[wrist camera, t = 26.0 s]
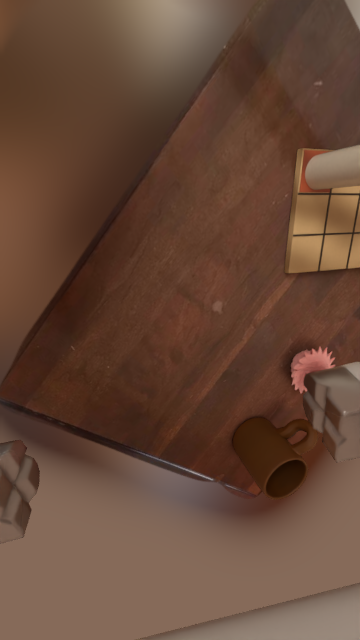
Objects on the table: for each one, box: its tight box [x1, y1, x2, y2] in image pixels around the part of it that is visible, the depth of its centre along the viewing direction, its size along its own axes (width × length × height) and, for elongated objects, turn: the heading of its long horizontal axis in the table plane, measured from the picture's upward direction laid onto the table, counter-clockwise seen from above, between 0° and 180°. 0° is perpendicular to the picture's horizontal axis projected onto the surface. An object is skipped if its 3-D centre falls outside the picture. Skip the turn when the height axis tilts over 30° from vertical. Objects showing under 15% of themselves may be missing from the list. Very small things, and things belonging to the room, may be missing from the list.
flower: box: [291, 347, 335, 393], centre depth 45 cm, size 8×8×6 cm
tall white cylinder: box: [305, 144, 360, 190], centre depth 31 cm, size 4×4×12 cm
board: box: [284, 148, 360, 274], centre depth 40 cm, size 15×15×1 cm
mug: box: [233, 417, 318, 500], centre depth 45 cm, size 12×8×9 cm, turn 140°
